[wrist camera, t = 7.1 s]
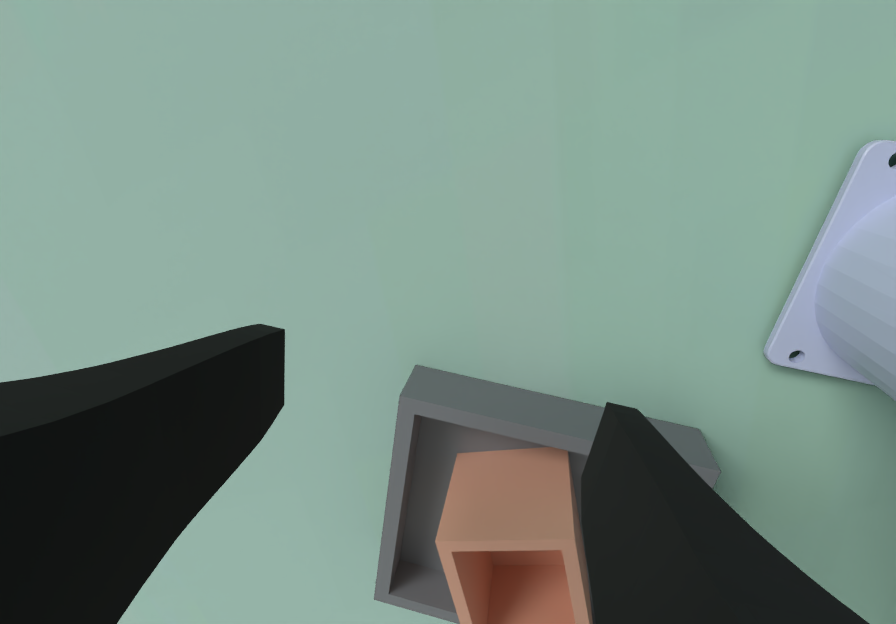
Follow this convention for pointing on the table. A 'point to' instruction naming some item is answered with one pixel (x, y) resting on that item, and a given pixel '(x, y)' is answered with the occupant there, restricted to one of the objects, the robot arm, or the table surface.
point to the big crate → (477, 430)
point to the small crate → (514, 539)
